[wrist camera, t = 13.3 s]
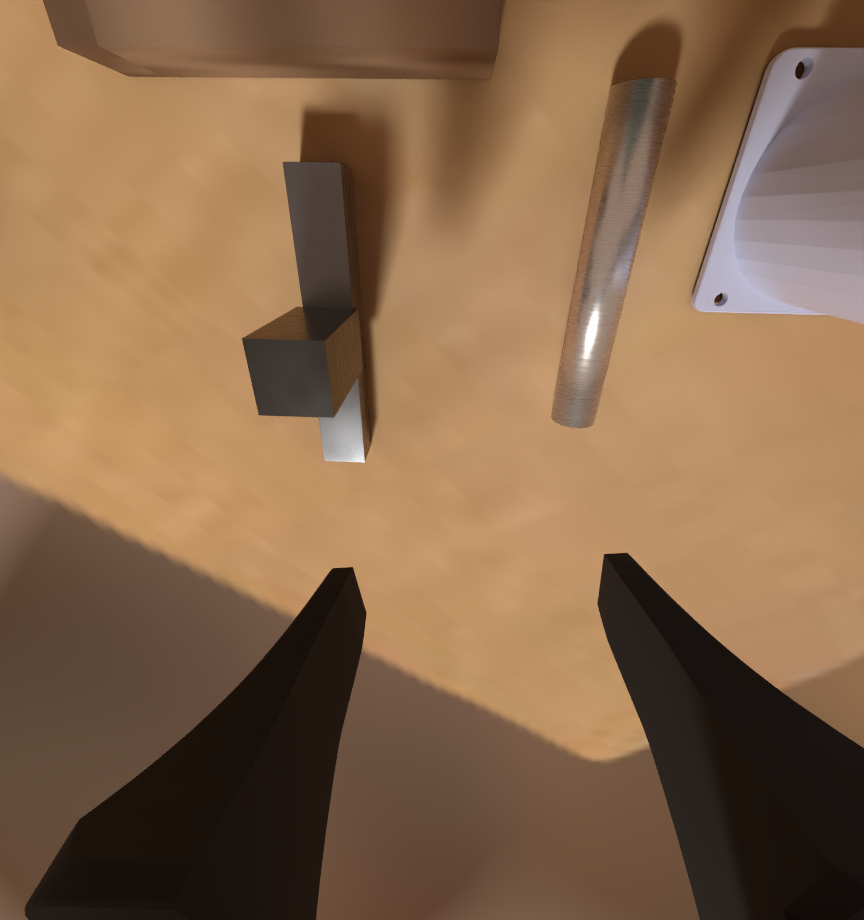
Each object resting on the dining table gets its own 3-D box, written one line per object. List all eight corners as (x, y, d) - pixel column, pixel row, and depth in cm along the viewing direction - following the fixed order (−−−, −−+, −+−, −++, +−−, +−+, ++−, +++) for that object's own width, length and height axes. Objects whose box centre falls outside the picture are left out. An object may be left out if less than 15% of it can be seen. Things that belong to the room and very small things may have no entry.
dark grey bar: (359, 168, 16) (300, 138, 10) (376, 443, 22) (347, 529, 16) (294, 167, 16) (197, 136, 10) (329, 441, 22) (283, 526, 16)
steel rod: (602, 94, 14) (622, 78, 13) (661, 94, 14) (688, 78, 12) (547, 409, 20) (555, 427, 19) (587, 410, 20) (599, 429, 19)
